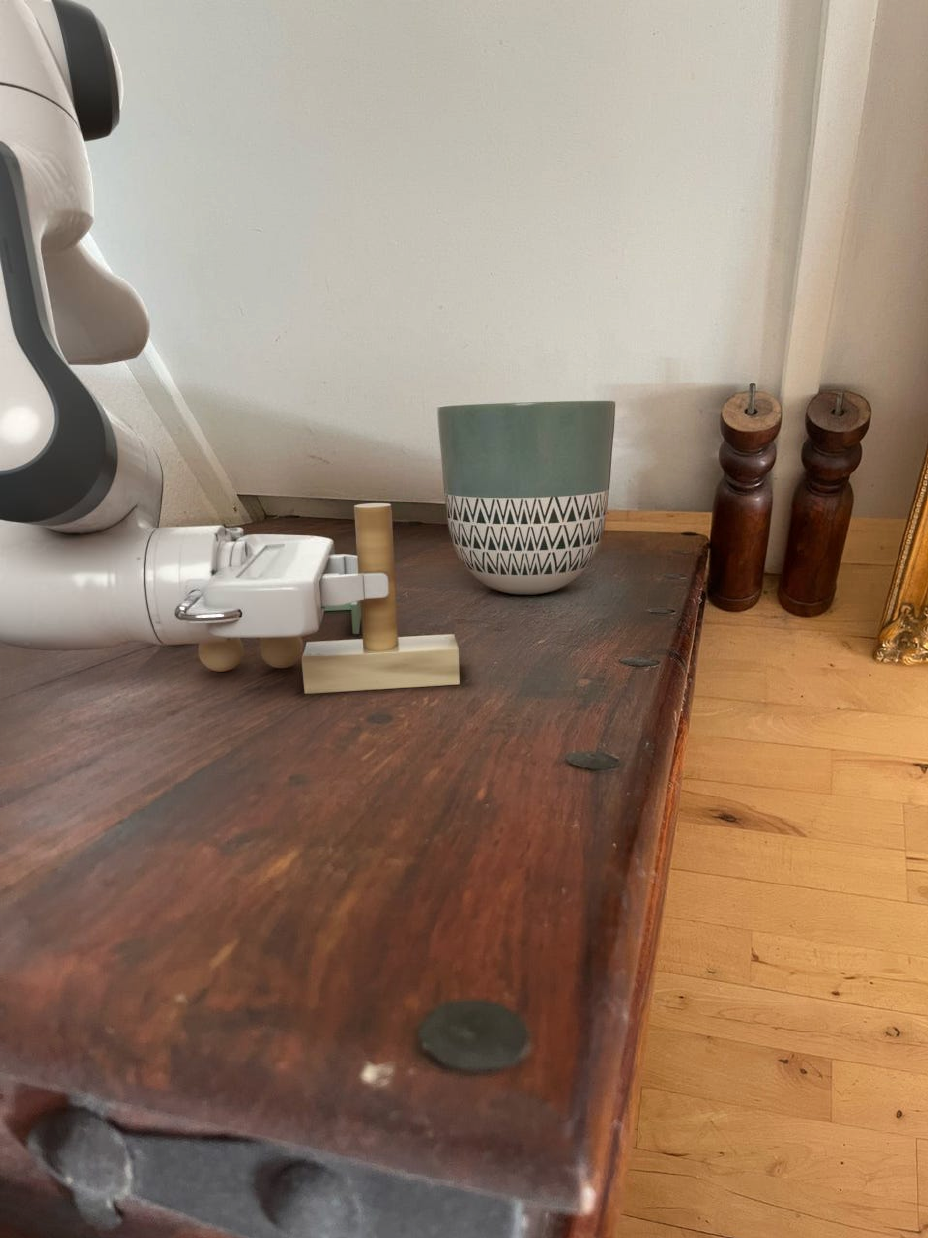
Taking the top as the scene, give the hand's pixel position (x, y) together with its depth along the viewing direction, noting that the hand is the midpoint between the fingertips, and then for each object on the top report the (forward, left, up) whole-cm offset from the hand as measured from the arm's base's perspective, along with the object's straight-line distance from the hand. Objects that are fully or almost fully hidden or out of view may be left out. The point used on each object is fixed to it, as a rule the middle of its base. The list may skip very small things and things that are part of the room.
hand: (388, 575), depth 57 cm
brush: (0, -1, -9) cm, 9 cm away
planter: (-29, +16, -9) cm, 34 cm away
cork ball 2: (-5, -9, -7) cm, 13 cm away
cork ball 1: (-5, -14, -7) cm, 17 cm away
